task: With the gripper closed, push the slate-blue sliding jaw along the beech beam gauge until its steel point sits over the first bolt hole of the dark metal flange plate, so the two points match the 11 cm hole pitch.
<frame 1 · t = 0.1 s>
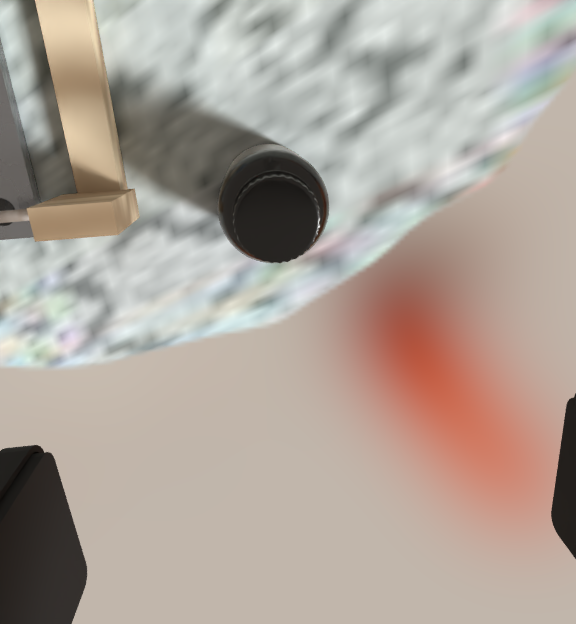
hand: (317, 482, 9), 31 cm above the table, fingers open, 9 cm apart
supplement bottle: (269, 190, 38), on the table
beam gauge: (84, 76, 34), on the table
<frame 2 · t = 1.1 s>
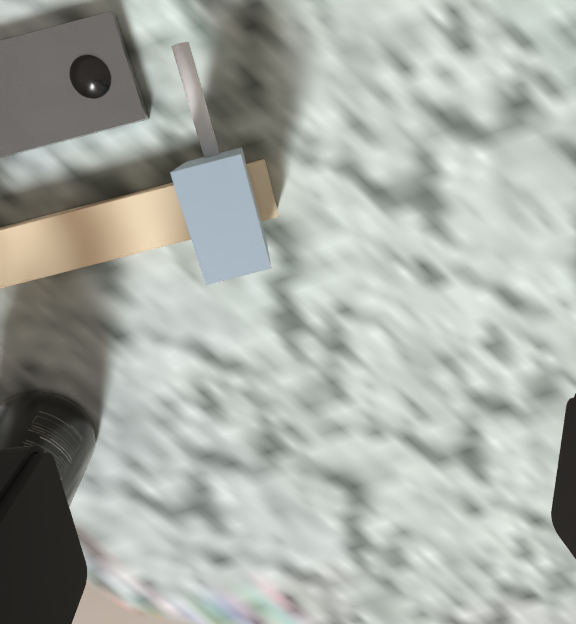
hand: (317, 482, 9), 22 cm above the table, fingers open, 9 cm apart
supplement bottle: (46, 431, 33), on the table
beam gauge: (103, 228, 29), on the table
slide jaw: (210, 158, 23), point 5 cm above the table, slide at 0.0 cm
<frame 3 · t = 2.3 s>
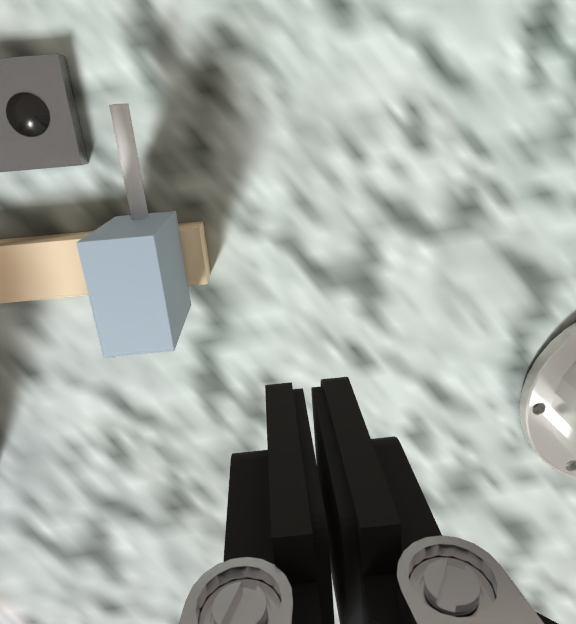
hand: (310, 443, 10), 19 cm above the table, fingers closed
beam gauge: (26, 264, 28), on the table
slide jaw: (132, 224, 22), point 5 cm above the table, slide at 0.0 cm
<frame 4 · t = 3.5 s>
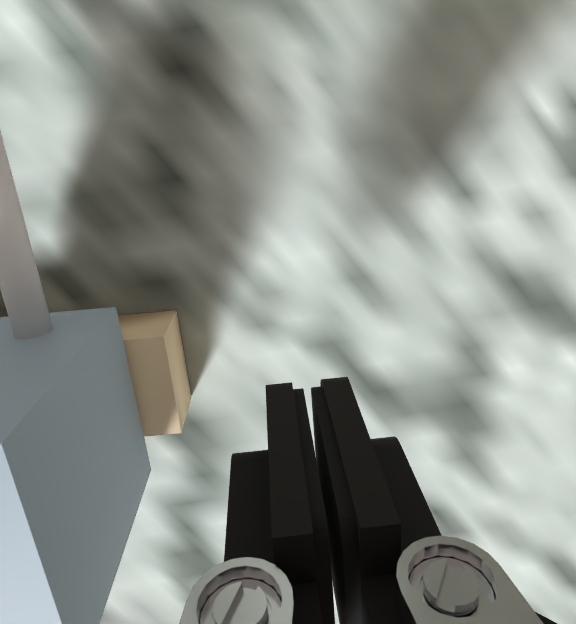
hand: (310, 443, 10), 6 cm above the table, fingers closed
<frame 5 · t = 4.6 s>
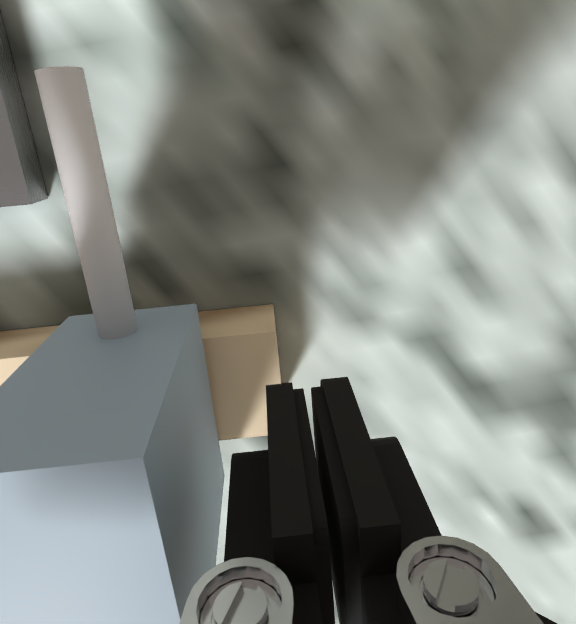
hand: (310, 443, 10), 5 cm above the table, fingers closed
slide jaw: (94, 365, 9), point 5 cm above the table, slide at 0.8 cm, touching gripper
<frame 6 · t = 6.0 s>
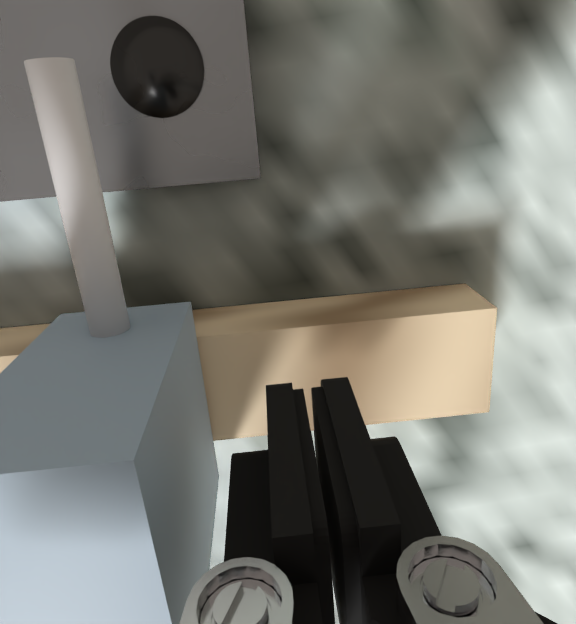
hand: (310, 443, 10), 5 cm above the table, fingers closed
beam gauge: (122, 365, 14), on the table
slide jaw: (85, 364, 9), point 5 cm above the table, slide at 6.4 cm
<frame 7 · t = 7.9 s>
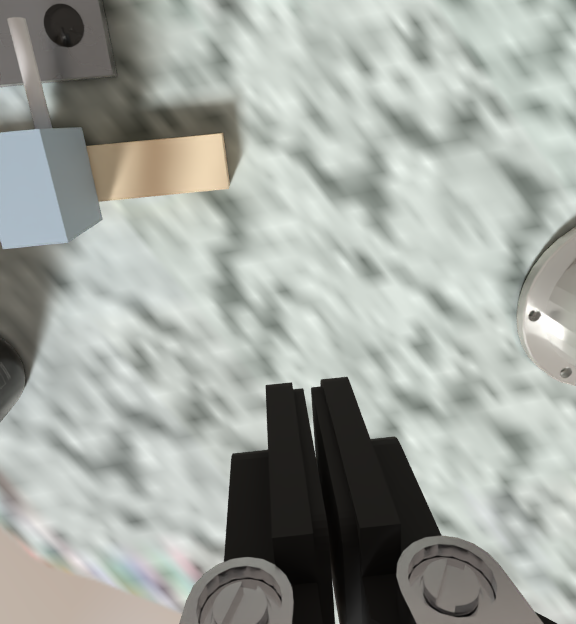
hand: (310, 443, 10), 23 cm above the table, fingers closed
beam gauge: (59, 175, 30), on the table
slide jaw: (31, 130, 24), point 5 cm above the table, slide at 6.4 cm
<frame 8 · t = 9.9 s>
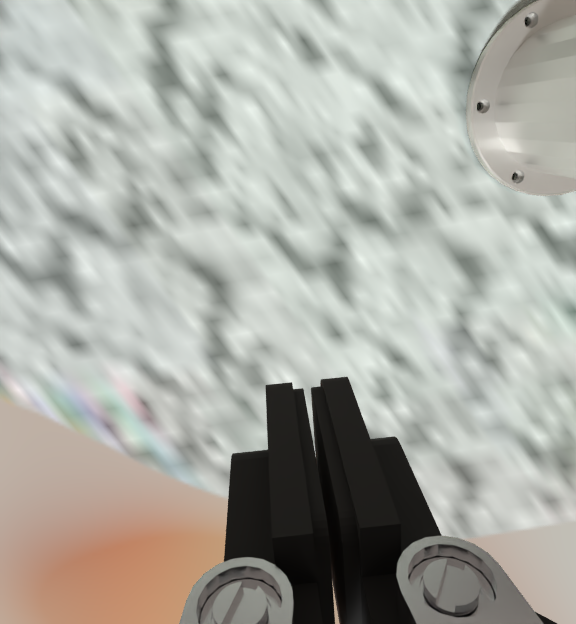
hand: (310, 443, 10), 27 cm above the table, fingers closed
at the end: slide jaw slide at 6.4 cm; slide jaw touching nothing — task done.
